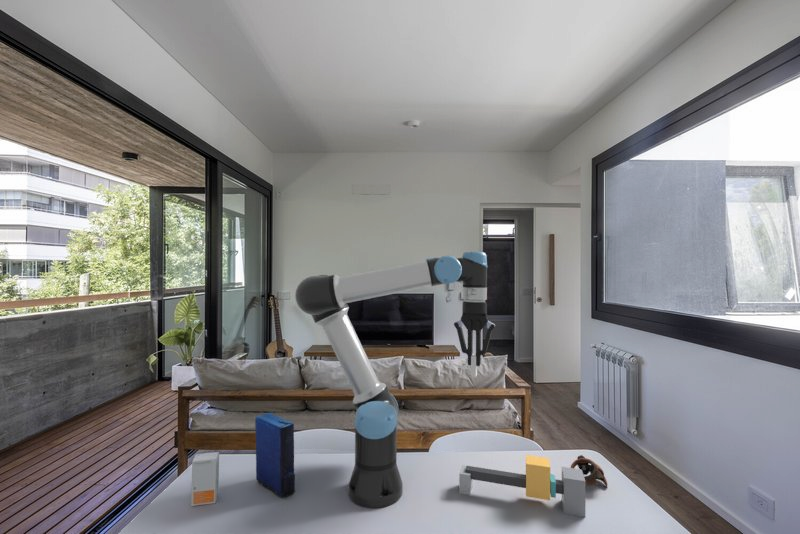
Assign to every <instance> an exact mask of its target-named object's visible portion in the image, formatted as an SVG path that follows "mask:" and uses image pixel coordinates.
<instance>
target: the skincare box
mask: <svg viewBox="0 0 800 534" xmlns="http://www.w3.org/2000/svg"><path fill="white" fill-rule="evenodd" d="M191 468H192V469H191V493H190V494H191V497H190V498H191V500H190V502H191V503H190V505H191V507H195V506H202V505H212V504H216V502H217V500H218V497H219V483H220V481H219V478H220V475H219V474H220V451H214V452H205V453H197V454H195V455H194V457H193V459H192V461H191Z"/></svg>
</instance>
